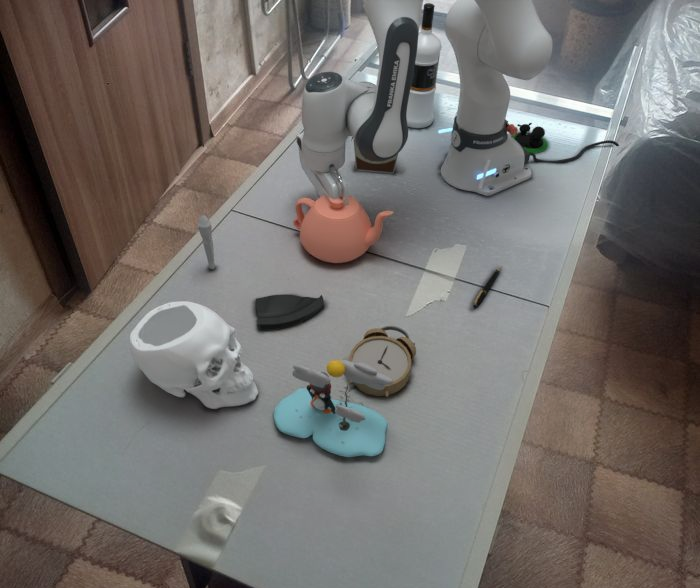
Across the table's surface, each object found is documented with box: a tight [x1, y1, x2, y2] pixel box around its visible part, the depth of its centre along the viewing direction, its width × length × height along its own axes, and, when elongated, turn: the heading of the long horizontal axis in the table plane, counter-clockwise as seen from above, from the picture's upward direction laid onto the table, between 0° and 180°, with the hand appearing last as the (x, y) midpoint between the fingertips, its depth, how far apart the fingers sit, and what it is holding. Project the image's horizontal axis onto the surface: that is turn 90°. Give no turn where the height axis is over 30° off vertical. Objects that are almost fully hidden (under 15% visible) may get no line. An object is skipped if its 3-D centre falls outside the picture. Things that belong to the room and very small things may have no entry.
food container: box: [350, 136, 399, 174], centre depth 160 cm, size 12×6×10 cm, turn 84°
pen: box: [197, 214, 216, 270], centre depth 132 cm, size 2×3×14 cm
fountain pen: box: [473, 266, 501, 309], centre depth 136 cm, size 14×1×2 cm, turn 150°
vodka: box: [406, 2, 443, 129], centre depth 166 cm, size 9×9×30 cm
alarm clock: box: [348, 325, 417, 398], centre depth 120 cm, size 11×5×15 cm
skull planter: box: [129, 300, 259, 410], centre depth 114 cm, size 14×20×19 cm
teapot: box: [292, 194, 394, 264], centre depth 138 cm, size 22×16×12 cm
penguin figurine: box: [273, 358, 393, 458], centre depth 107 cm, size 20×11×15 cm, turn 66°
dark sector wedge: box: [255, 293, 325, 331], centre depth 129 cm, size 8×14×2 cm, turn 100°
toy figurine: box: [510, 122, 549, 154], centre depth 170 cm, size 10×10×6 cm
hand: (323, 207), depth 147 cm, fingers closed
